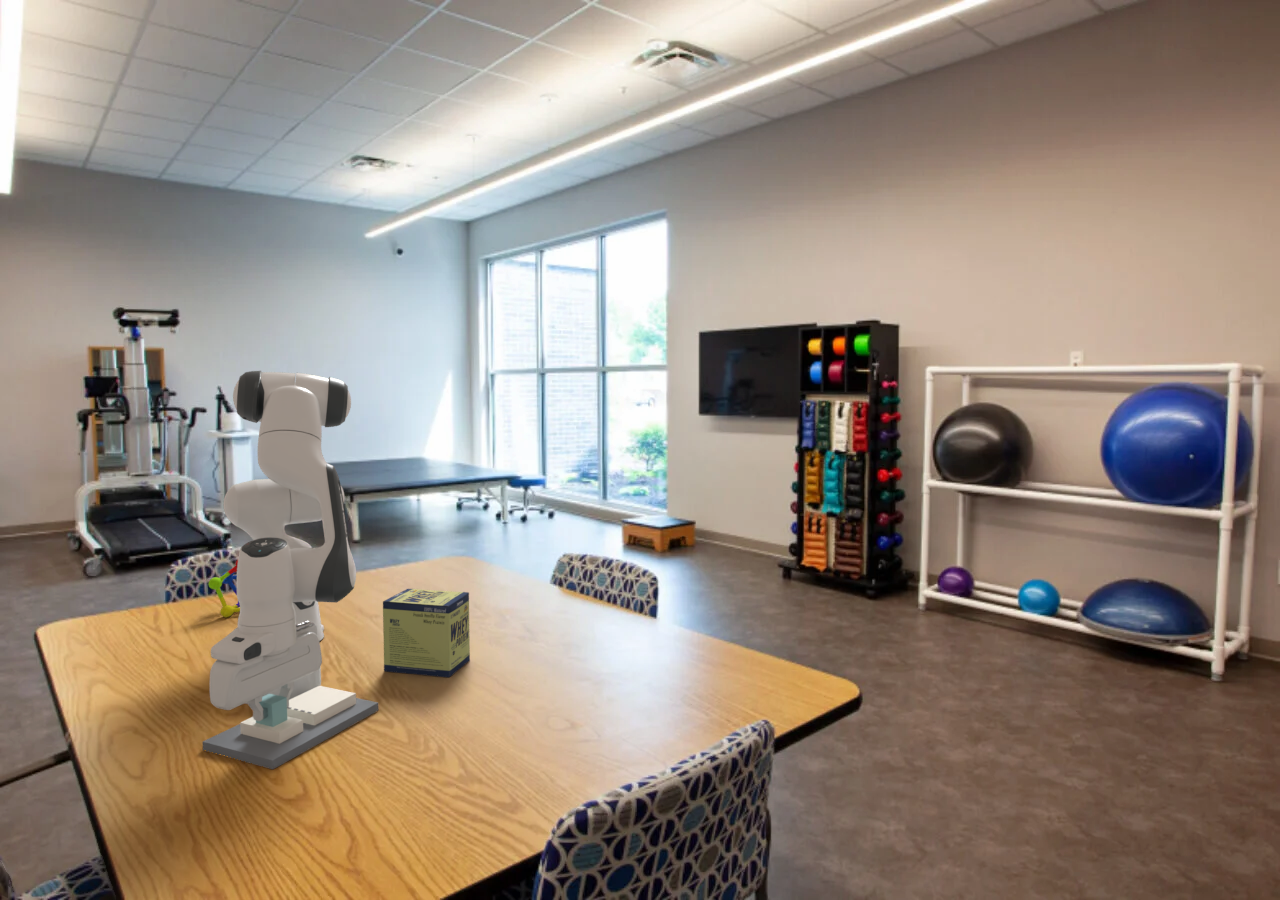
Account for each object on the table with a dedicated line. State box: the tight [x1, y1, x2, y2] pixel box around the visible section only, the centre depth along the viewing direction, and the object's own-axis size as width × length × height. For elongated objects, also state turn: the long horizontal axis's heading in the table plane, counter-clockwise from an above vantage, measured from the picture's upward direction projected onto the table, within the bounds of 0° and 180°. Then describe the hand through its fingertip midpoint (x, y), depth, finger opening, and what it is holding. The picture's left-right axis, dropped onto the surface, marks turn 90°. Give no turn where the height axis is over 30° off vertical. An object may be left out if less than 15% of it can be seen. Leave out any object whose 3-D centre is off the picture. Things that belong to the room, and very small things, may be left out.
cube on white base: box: [239, 694, 303, 744], centre depth 132 cm, size 9×5×6 cm, turn 67°
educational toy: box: [208, 559, 240, 618], centre depth 205 cm, size 16×13×15 cm
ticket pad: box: [287, 685, 357, 726], centre depth 141 cm, size 9×10×2 cm
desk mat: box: [202, 697, 380, 770], centre depth 137 cm, size 16×24×2 cm, turn 157°
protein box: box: [382, 588, 471, 678], centre depth 167 cm, size 10×16×16 cm
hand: (271, 713), depth 132 cm, fingers closed on cube on white base, 3 cm apart
